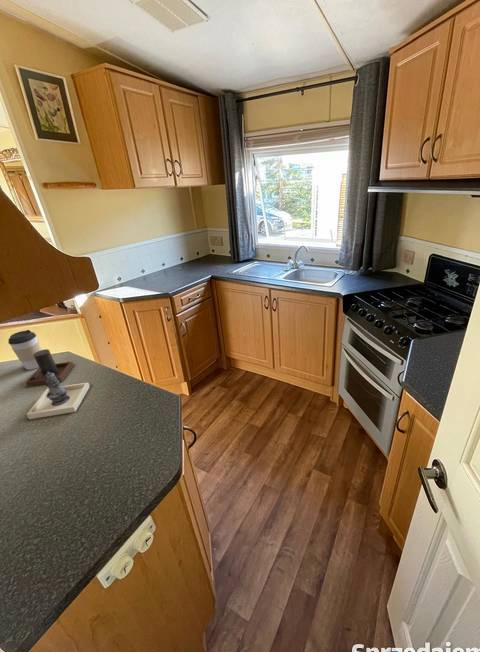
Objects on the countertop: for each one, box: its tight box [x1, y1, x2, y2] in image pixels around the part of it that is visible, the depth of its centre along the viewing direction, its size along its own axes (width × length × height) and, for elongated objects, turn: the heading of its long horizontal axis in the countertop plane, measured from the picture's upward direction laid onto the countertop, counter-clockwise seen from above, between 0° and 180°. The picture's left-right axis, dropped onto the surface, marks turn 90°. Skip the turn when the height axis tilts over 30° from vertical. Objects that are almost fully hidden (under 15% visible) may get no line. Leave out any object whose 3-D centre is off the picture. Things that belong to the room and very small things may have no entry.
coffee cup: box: [7, 329, 42, 371], centre depth 119 cm, size 9×9×15 cm
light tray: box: [26, 382, 91, 420], centre depth 99 cm, size 14×14×2 cm
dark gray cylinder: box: [33, 348, 59, 377], centre depth 112 cm, size 5×5×10 cm
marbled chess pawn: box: [44, 371, 70, 406], centre depth 96 cm, size 6×6×12 cm
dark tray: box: [25, 361, 74, 388], centre depth 114 cm, size 12×12×2 cm
